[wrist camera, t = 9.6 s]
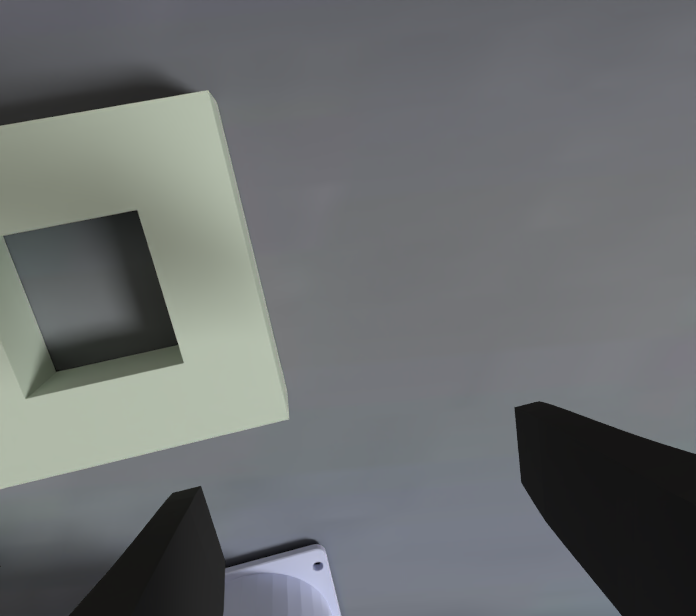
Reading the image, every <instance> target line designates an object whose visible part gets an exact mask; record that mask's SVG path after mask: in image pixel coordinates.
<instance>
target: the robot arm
mask: <svg viewBox="0 0 696 616" xmlns="http://www.w3.org/2000/svg"><path fill="white" fill-rule="evenodd" d="M515 418H516V429H517V440H518V451H519V462H520V473H521V483H522V484H523V486H524V488H525V489H526V491H527V492H528V494H529V496H530V497H531V499H532V501H533V502H534V504H535V506H536V507H537V509H538V510H539V512H540V513H541V515H542V516H543V518H544V520H545V521H546V522H547V524H548V525H549V526H550V527H551V529H552V530H553V531H554V533H555V534H556V535H557V536H558V538H559V539H560V540H561V541H562V543H563V544H564V545H565V546H566V547H567V549H568V550H569V551H570V552H571V554H572V555H573V556H574V557H575V559H576V560H577V561H578V562H579V563H580V565H581V566H582V567H583V568H584V570H585V571H586V572H587V573H588V574H589V576H590V577H591V578H592V579H593V581H594V582H595V583H596V584H597V586H598V587H599V588H600V589H601V590H602V592H603V593H604V594H605V595H606V597H607V598H608V599H609V600H610V601H611V603H612V604H613V605H614V606H615V608H616V609H617V610H618V611H619V613H620V614H621V615H622V616H696V454H694V453H690V452H687V451H684V450H680V449H677V448H674V447H671V446H667V445H664V444H661V443H658V442H655V441H652V440H649V439H646V438H643V437H640V436H637V435H634V434H631V433H628V432H625V431H623V430H620V429H617V428H614V427H611V426H609V425H606V424H603V423H601V422H598V421H595V420H592V419H590V418H587V417H584V416H582V415H579V414H576V413H574V412H571V411H568V410H565V409H562V408H560V407H557V406H554V405H551V404H547V403H544V402H540V401H538V402H534V403H530V404H526V405H522V406H518V407H515ZM316 562H321V563H320V564H318V565H315V564H314V563H316ZM69 616H341V612H340V608H339V604H338V600H337V596H336V592H335V588H334V584H333V579H332V575H331V571H330V567H329V563H328V559H327V555H326V551H325V548H324V547H323V546H322V545H319V544H313V545H310V546H306V547H302V548H298V549H295V550H291V551H287V552H284V553H280V554H276V555H272V556H269V557H265V558H261V559H258V560H254V561H250V562H247V563H243V564H239V565H235V566H232V567H228V568H225V559H224V556H223V553H222V550H221V547H220V543H219V540H218V537H217V534H216V531H215V528H214V525H213V522H212V519H211V516H210V512H209V509H208V506H207V503H206V500H205V497H204V494H203V491H202V488H201V486H199V487H195V488H191V489H187V490H183V491H179V492H175V493H172V494H171V495H170V497H169V498H168V499H167V500H166V501H165V502H164V504H163V505H162V506H161V507H160V508H159V510H158V511H157V512H156V513H155V515H154V516H153V517H152V518H151V520H150V521H149V522H148V523H147V525H146V526H145V527H144V528H143V530H142V531H141V532H140V533H139V535H138V536H137V537H136V538H135V540H134V541H133V542H132V543H131V545H130V546H129V547H128V548H127V549H126V551H125V552H124V553H123V554H122V556H121V557H120V558H119V559H118V560H117V562H116V563H115V564H114V565H113V566H112V568H111V569H110V570H109V571H108V572H107V573H106V575H105V576H104V577H103V578H102V579H101V580H100V581H99V582H98V584H97V585H96V586H95V587H94V588H93V589H92V590H91V591H90V593H89V594H88V595H87V596H86V597H85V598H84V599H83V600H82V602H81V603H80V604H79V605H78V606H77V607H76V608H75V610H74V611H73V612H72V613H71V614H70V615H69Z"/></svg>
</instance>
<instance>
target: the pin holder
mask: <svg viewBox="0 0 696 616" xmlns="http://www.w3.org/2000/svg"><path fill="white" fill-rule="evenodd" d="M134 210H137V211H138V214H139V217H140V221H141V224H142V227H143V230H144V234H145V237H146V240H147V244H148V247H149V250H150V253H151V257H152V260H153V263H154V266H155V270H156V273H157V276H158V279H159V283H160V286H161V289H162V293H163V296H164V299H165V302H166V306H167V309H168V312H169V315H170V319H171V322H172V325H173V329H174V332H175V335H176V338H177V342H178V345H176V346H171V347H167V348H162V349H158V350H153V351H149V352H144V353H140V354H135V355H131V356H126V357H122V358H117V359H113V360H108V361H104V362H99V363H94V364H90V365H85V366H81V367H76V368H72V369H67V370H63V371H58V372H56V370H55V368H54V365H53V363H52V360H51V358H50V355H49V353H48V350H47V347H46V345H45V342H44V340H43V337H42V335H41V332H40V330H39V327H38V324H37V322H36V319H35V317H34V314H33V312H32V309H31V307H30V304H29V301H28V299H27V296H26V294H25V291H24V289H23V286H22V284H21V281H20V278H19V276H18V273H17V271H16V268H15V266H14V263H13V261H12V258H11V255H10V253H9V250H8V248H7V245H6V243H5V240H4V238H3V236H4V235H10V234H15V233H20V232H25V231H30V230H36V229H41V228H46V227H51V226H56V225H62V224H67V223H72V222H77V221H82V220H87V219H93V218H98V217H103V216H108V215H113V214H119V213H124V212H129V211H134ZM287 419H289V410H288V395H287V389H286V385H285V381H284V376H283V372H282V368H281V364H280V360H279V356H278V352H277V348H276V344H275V339H274V335H273V331H272V327H271V323H270V319H269V315H268V311H267V307H266V302H265V298H264V294H263V290H262V286H261V282H260V278H259V274H258V270H257V265H256V261H255V257H254V253H253V249H252V245H251V241H250V237H249V233H248V228H247V224H246V220H245V216H244V212H243V208H242V204H241V200H240V196H239V191H238V187H237V183H236V179H235V175H234V171H233V167H232V163H231V159H230V154H229V150H228V146H227V142H226V138H225V134H224V130H223V126H222V122H221V117H220V113H219V109H218V105H217V102H216V101H215V99H214V98H213V97H212V95H211V94H210V92H209V91H208V90H207V91H201V92H195V93H189V94H184V95H178V96H172V97H166V98H160V99H154V100H148V101H143V102H137V103H131V104H125V105H119V106H113V107H108V108H102V109H96V110H90V111H84V112H78V113H72V114H67V115H61V116H55V117H49V118H43V119H37V120H31V121H26V122H20V123H14V124H8V125H2V126H0V489H3V488H7V487H11V486H15V485H19V484H23V483H27V482H32V481H36V480H40V479H44V478H48V477H52V476H56V475H60V474H65V473H69V472H73V471H77V470H81V469H85V468H89V467H93V466H98V465H102V464H106V463H110V462H114V461H118V460H122V459H127V458H131V457H135V456H139V455H143V454H147V453H151V452H155V451H160V450H164V449H168V448H172V447H176V446H180V445H184V444H188V443H193V442H197V441H201V440H205V439H209V438H213V437H217V436H221V435H226V434H230V433H234V432H238V431H242V430H246V429H250V428H254V427H259V426H263V425H267V424H271V423H275V422H279V421H283V420H287Z"/></svg>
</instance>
